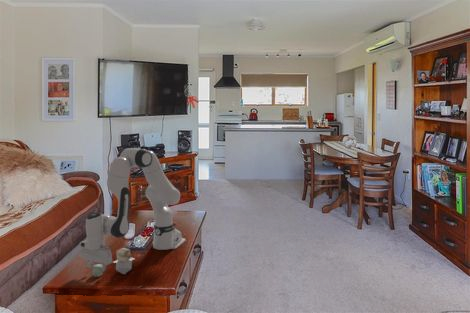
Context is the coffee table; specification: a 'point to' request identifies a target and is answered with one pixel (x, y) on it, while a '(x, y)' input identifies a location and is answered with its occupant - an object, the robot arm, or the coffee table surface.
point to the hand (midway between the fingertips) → (96, 269)
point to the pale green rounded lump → (97, 270)
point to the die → (124, 266)
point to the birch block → (123, 254)
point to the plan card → (129, 259)
